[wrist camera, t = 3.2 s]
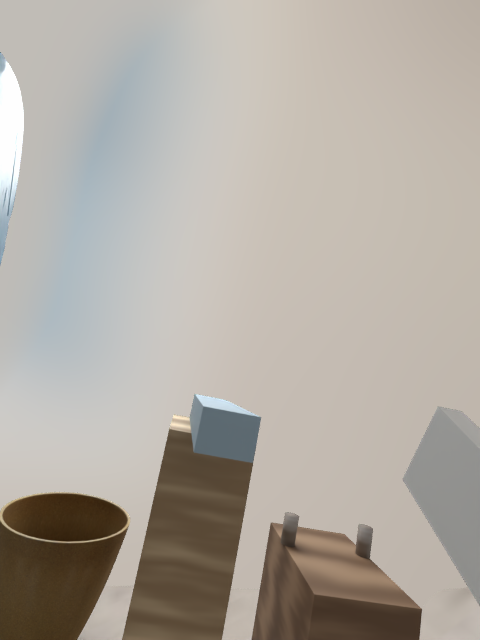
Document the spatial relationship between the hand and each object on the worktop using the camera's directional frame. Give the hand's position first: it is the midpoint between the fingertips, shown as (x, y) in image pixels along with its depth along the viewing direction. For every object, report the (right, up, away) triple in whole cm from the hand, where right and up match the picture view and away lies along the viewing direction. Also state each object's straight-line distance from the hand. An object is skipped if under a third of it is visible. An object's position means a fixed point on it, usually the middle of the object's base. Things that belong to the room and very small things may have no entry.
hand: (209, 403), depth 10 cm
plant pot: (-23, -37, +32) cm, 54 cm away
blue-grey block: (-2, -9, +24) cm, 26 cm away
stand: (-8, -38, +24) cm, 46 cm away
